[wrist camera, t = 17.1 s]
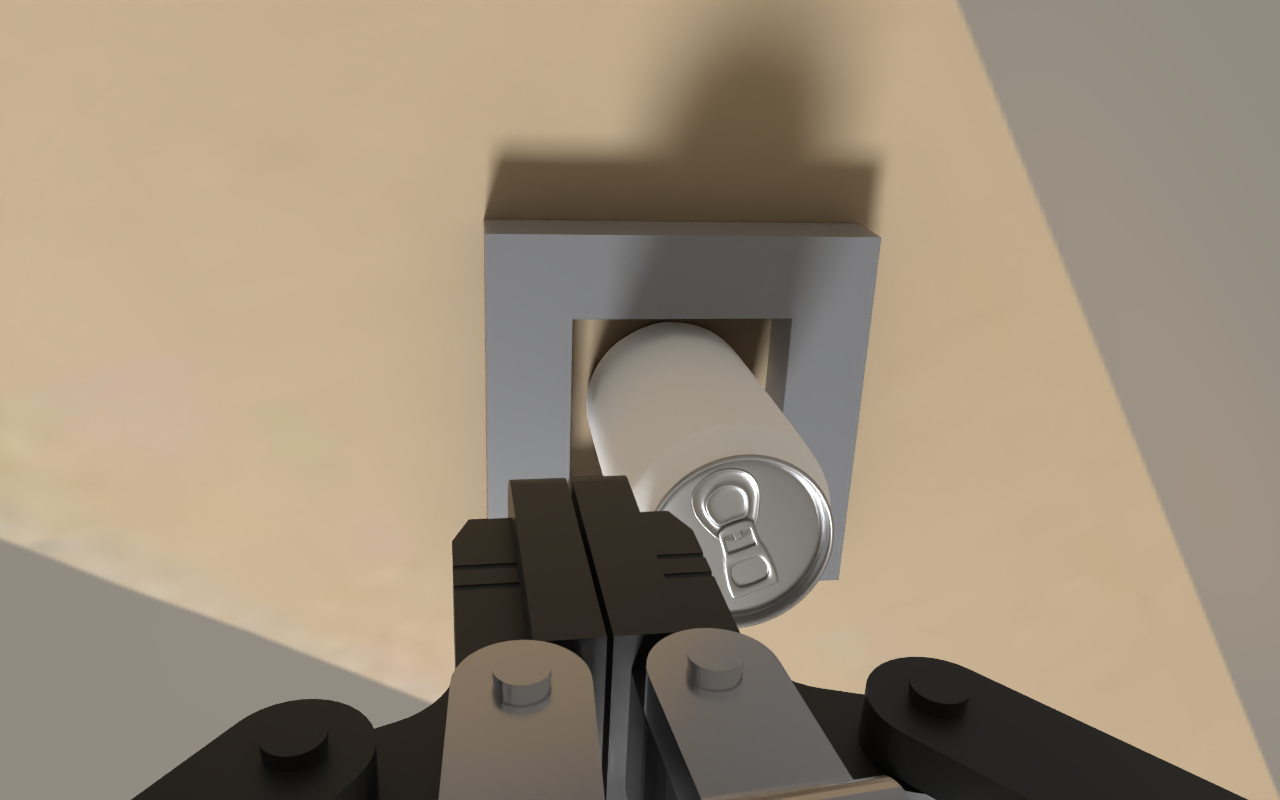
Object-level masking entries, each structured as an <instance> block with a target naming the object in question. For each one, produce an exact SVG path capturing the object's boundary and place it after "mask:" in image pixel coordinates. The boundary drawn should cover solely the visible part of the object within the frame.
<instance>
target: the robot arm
mask: <svg viewBox="0 0 1280 800" xmlns="http://www.w3.org/2000/svg"><path fill="white" fill-rule="evenodd" d="M452 554H453V599H454V645H455V671H454V673H453V675H452V677H451V682H450V686H449V688H448V689H447V691H446V692H445V693H444V694H443V695H442V696H441V697H440V698H439V699H438V700H437V701H436V702H434V703H433V704H432V705H430V706H429V707H427V708H426V709H424V710H423V711H421V712H419V713H417V714H415V715H413V716H411V717H409V718H406V719H403V720H401V721H398V722H395V723H392V724H388V725H385V726H382V727H378V728H376V729H374V728H373V726H372V724H371V723H370V721H369V720H368V719H367V717H366V716H364V715H363V714H362V713H361V712H360V711H358V710H356V709H354V708H353V707H351V706H349V705H346V704H343V703H340V702H335V701H330V700H321V699H304V700H303V699H302V700H296V701H288V702H284V703H280V704H276V705H273V706H270V707H267V708H264V709H262V710H259V711H257V712H255V713H253V714H251V715H249V716H247V717H246V718H244V719H243V720H241V721H240V722H238V723H237V724H235V725H234V726H233V727H231V728H230V729H228V730H227V731H226V732H224V733H223V734H222V735H220V736H219V737H217V738H216V739H215V740H213V741H212V742H210V743H209V744H208V745H206V746H205V747H204V748H202V749H201V750H199V751H198V752H197V753H195V754H194V755H193V756H191V757H190V758H188V759H187V760H186V761H184V762H183V763H181V764H180V765H179V766H177V767H176V768H174V769H173V770H172V771H170V772H169V773H168V774H166V775H165V776H163V777H162V778H161V779H159V780H158V781H156V782H155V783H154V784H152V785H151V786H150V787H148V788H147V789H145V790H144V791H143V792H141V793H140V794H139V795H137V796H136V797H134V798H133V799H132V800H1247V799H1245V798H1243V797H1241V796H1239V795H1237V794H1234V793H1232V792H1230V791H1228V790H1226V789H1224V788H1222V787H1219V786H1217V785H1215V784H1213V783H1211V782H1209V781H1207V780H1205V779H1202V778H1200V777H1198V776H1196V775H1194V774H1192V773H1190V772H1187V771H1185V770H1183V769H1181V768H1179V767H1177V766H1175V765H1172V764H1170V763H1168V762H1166V761H1164V760H1162V759H1160V758H1158V757H1155V756H1153V755H1151V754H1149V753H1147V752H1145V751H1143V750H1140V749H1138V748H1136V747H1134V746H1132V745H1130V744H1128V743H1125V742H1123V741H1121V740H1119V739H1117V738H1115V737H1113V736H1111V735H1108V734H1106V733H1104V732H1102V731H1100V730H1098V729H1096V728H1093V727H1091V726H1089V725H1087V724H1085V723H1083V722H1081V721H1078V720H1076V719H1074V718H1072V717H1070V716H1068V715H1066V714H1064V713H1061V712H1059V711H1057V710H1055V709H1053V708H1051V707H1049V706H1046V705H1044V704H1042V703H1040V702H1038V701H1036V700H1034V699H1031V698H1029V697H1027V696H1025V695H1023V694H1021V693H1019V692H1017V691H1014V690H1012V689H1010V688H1008V687H1006V686H1004V685H1002V684H999V683H997V682H995V681H993V680H991V679H989V678H987V677H984V676H982V675H980V674H978V673H976V672H974V671H972V670H970V669H967V668H965V667H962V666H960V665H957V664H954V663H951V662H948V661H944V660H939V659H934V658H926V657H906V658H898V659H894V660H890V661H888V662H885V663H883V664H881V665H880V666H878V667H877V668H875V669H874V670H873V671H872V673H871V674H870V675H869V677H868V679H867V683H866V689H865V695H863V694H856V693H849V692H842V691H835V690H828V689H821V688H816V687H811V686H807V685H803V684H800V683H796V682H794V681H791V679H790V677H789V676H788V674H787V672H786V671H785V669H784V668H783V666H782V664H781V663H780V661H779V660H778V658H777V657H776V656H775V654H774V653H773V652H772V651H771V650H770V649H768V648H767V647H766V646H765V645H763V644H762V643H760V642H759V641H757V640H755V639H753V638H751V637H749V636H746V635H743V634H741V633H740V632H739V629H738V627H737V625H736V623H735V621H734V619H733V616H732V614H731V612H730V610H729V608H728V606H727V603H726V601H725V599H724V597H723V595H722V592H721V590H720V588H719V586H718V584H717V582H716V579H715V577H714V576H712V571H711V568H710V566H709V564H708V562H707V560H706V558H705V557H703V551H702V549H701V547H700V544H699V542H698V540H697V538H696V536H695V534H694V531H693V530H692V529H691V528H690V527H688V526H687V525H686V524H685V523H683V522H682V521H681V520H679V519H678V518H677V517H675V516H674V515H673V514H672V513H670V512H669V511H650V512H640V510H639V507H638V505H637V502H636V499H635V497H634V494H633V491H632V489H631V486H630V484H629V481H628V478H627V477H626V475H619V476H592V477H570V478H569V480H568V483H567V480H566V478H543V479H516V480H509V482H508V518H494V519H471V520H468V521H467V522H466V524H465V525H464V526H463V528H462V529H461V530H460V532H459V533H458V534H457V536H456V537H455V538H454V540H453V541H452Z"/></svg>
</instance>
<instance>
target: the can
mask: <svg viewBox="0 0 1280 800" xmlns="http://www.w3.org/2000/svg"><path fill="white" fill-rule="evenodd" d="M586 405H587V417H588V422H589V427H590V431H591V435H592V438H593V442H594V446H595V449H596V453H597V456H598V460H599V463H600V467H601V470H602V474H603V476H619V475H626V477H627V478H628V481H629V484H630V486H631V489H632V491H633V494H634V497H635V499H636V502H637V505H638V507H639V510H640V512H650V511H669V512H670V513H672V514H673V515H674V516H675V517H677V518H678V519H679V520H681V521H682V522H683V523H685V524H686V525H687V526H688V527H690V528H691V529H692V530H693V531H694V534H695V536H696V538H697V540H698V542H699V544H700V547H701V549H702V551H703V557H705V558H706V560H707V562H708V564H709V566H710V568H711V571H712V576H714V577H715V579H716V582H717V584H718V586H719V588H720V590H721V592H722V595H723V597H724V599H725V601H726V603H727V606H728V608H729V610H730V612H731V614H732V616H733V619H734V621H735V623H736V625H737V627H738V628H742V627H748V626H753V625H757V624H760V623H763V622H766V621H769V620H771V619H773V618H775V617H777V616H779V615H781V614H783V613H785V612H786V611H788V610H789V609H791V608H792V607H794V606H795V605H796V604H798V603H799V602H800V601H801V600H802V599H803V598H804V597H805V596H806V595H807V594H808V593H809V592H810V591H811V590H812V589H813V588H814V586H815V585H816V584H817V582H818V581H819V579H820V578H821V576H822V575H823V573H824V571H825V569H826V567H827V565H828V562H829V559H830V556H831V553H832V549H833V544H834V520H833V514H832V511H831V507H830V495H829V489H828V485H827V482H826V479H825V476H824V474H823V471H822V469H821V467H820V465H819V463H818V462H817V460H816V458H815V457H814V455H813V454H812V452H811V451H810V449H809V448H808V446H807V445H806V444H805V442H804V441H803V440H802V438H801V437H800V436H799V434H798V433H797V432H796V430H795V429H794V428H793V426H792V425H791V424H790V422H789V421H788V420H787V418H786V417H785V416H784V414H783V413H782V412H781V410H780V409H779V408H778V406H777V405H776V404H775V402H774V401H773V400H772V398H771V397H770V396H769V395H768V393H767V392H766V391H765V389H764V388H763V387H762V385H761V384H760V383H759V382H758V380H757V379H756V378H755V376H754V375H753V374H752V372H751V371H750V370H749V369H748V367H747V366H746V365H745V363H744V362H743V361H742V360H741V358H740V357H739V356H738V355H737V354H736V352H735V351H734V350H733V349H732V348H731V347H730V346H729V345H728V344H727V343H726V342H725V341H724V340H723V339H721V338H720V337H719V336H717V335H716V334H714V333H713V332H711V331H709V330H707V329H704V328H702V327H699V326H696V325H692V324H687V323H680V322H661V323H656V324H652V325H649V326H646V327H644V328H641V329H639V330H637V331H635V332H633V333H631V334H629V335H628V336H626V337H625V338H623V339H622V340H620V341H619V342H617V343H616V344H615V345H614V346H613V347H611V348H610V349H609V350H608V352H607V353H606V354H605V355H604V356H603V358H602V359H601V360H600V362H599V363H598V365H597V367H596V369H595V371H594V373H593V375H592V378H591V380H590V383H589V387H588V392H587V403H586Z"/></svg>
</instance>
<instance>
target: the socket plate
mask: <svg viewBox="0 0 1280 800" xmlns="http://www.w3.org/2000/svg"><path fill="white" fill-rule="evenodd" d="M880 243H881V237H880V236H878V235H876V234H874V233H873V232H871V231H869V230H868V229H866V228H864V227H862V226H861V225H859V224H857V223H779V222H688V221H598V220H507V219H484V280H485V367H486V455H487V519H494V518H508V482H509V480H516V479H543V478H566V480H567V483H568V480H569V472H570V421H571V369H572V319H772V324H771V335H770V346H769V357H768V368H767V379H766V390H765V391H766V392H767V393H768V395H769V396H770V397H771V398H772V400H773V401H774V402H775V404H776V405H777V406H778V408H779V409H780V410H781V412H782V413H783V414H784V416H785V417H786V418H787V420H788V421H789V422H790V424H791V425H792V426H793V428H794V429H795V430H796V432H797V433H798V434H799V436H800V437H801V438H802V440H803V441H804V442H805V444H806V445H807V446H808V448H809V449H810V451H811V452H812V454H813V455H814V457H815V458H816V460H817V462H818V463H819V465H820V467H821V469H822V471H823V474H824V476H825V479H826V482H827V485H828V489H829V495H830V507H831V511H832V514H833V520H834V544H833V549H832V553H831V556H830V559H829V562H828V565H827V567H826V569H825V571H824V573H823V575H822V576H821V578H820V579H819V581H820V580H839V572H840V564H841V556H842V548H843V540H844V532H845V524H846V515H847V507H848V499H849V491H850V483H851V475H852V467H853V459H854V451H855V443H856V435H857V427H858V419H859V411H860V403H861V395H862V387H863V379H864V371H865V363H866V355H867V347H868V339H869V331H870V323H871V315H872V307H873V299H874V291H875V283H876V275H877V267H878V259H879V251H880Z"/></svg>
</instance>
